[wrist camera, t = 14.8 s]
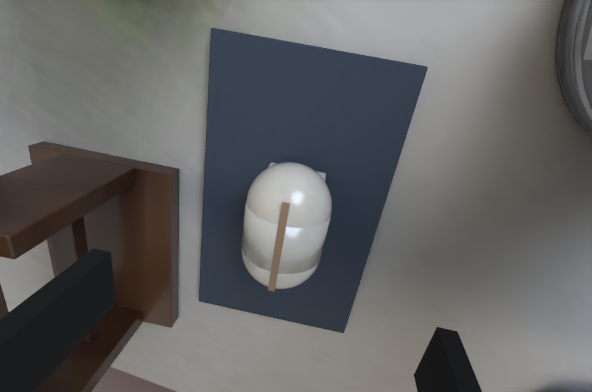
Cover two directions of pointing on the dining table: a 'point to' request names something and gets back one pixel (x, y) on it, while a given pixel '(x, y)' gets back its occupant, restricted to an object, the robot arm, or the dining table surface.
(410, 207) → the dining table surface
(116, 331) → the rack
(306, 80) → the mat
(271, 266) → the white dome-topped canister
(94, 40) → the dining table surface
